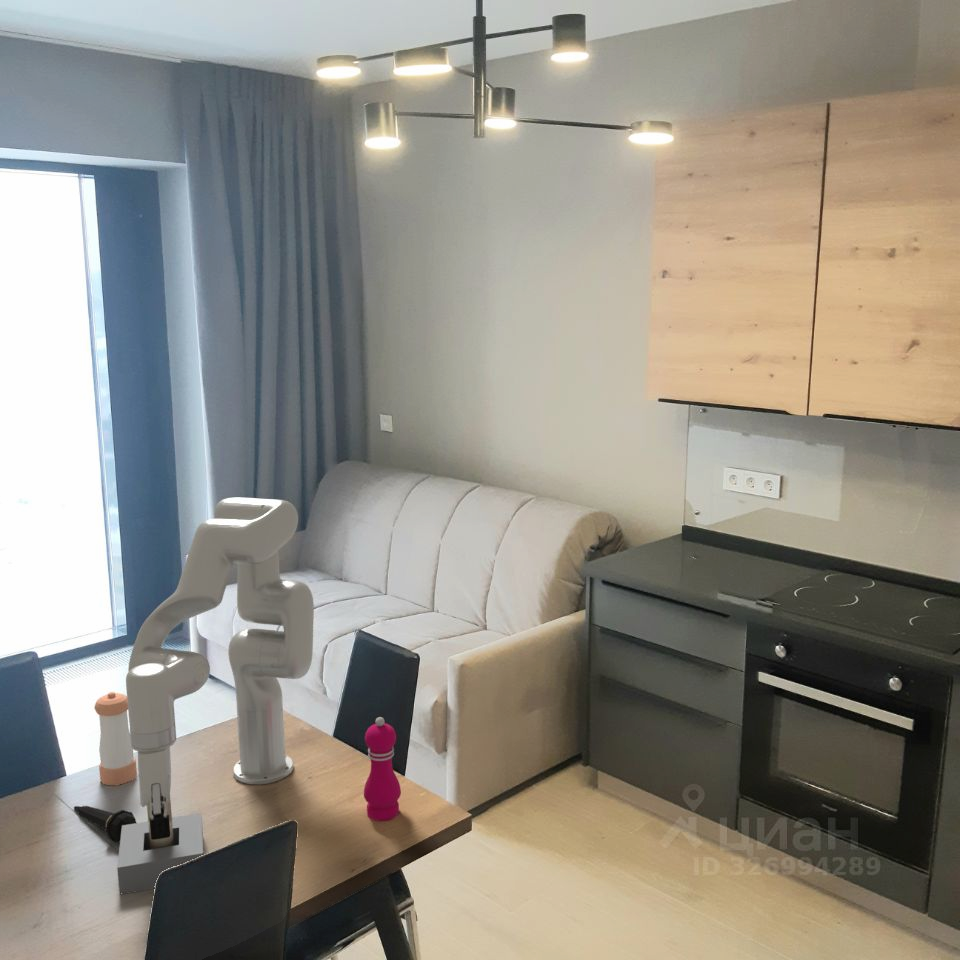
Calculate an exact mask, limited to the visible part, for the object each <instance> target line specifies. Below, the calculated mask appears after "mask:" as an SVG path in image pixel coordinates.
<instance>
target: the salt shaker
mask: <svg viewBox="0 0 960 960" xmlns="http://www.w3.org/2000/svg"><path fill="white" fill-rule="evenodd" d="M94 711H95V712H96V714H97V715H98V717H99V728H100V737H99V752H98V753H99V758H100V759H99V760H100V763H99V765H98V766H99V769H98V770H99V780H101V781H100V783H101V782H102V783H104V784H106V785H105V786H108V785H116V786H121V785H120V784H122V785H124V784H123V783H125V784H128V783H130V782H132V781H133V780H135V779H136V777H137V776H136V775H137V774H138V772H137V770H138V769H137V760H136V757H135V756H134V749H133V748H132V747H131V737H130V726H129V716H128V702H127V694H125V693H119V692H114V691H110V692H108V693H107V694H105V695H102V696H101V697H99V698H98V699H97V700H96V702H95V704H94ZM132 779H133V780H132ZM131 780H132V781H131ZM129 781H130V782H129ZM127 782H128V783H127ZM102 783H101V784H102ZM104 784H103V785H104Z"/></svg>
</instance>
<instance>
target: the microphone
mask: <svg viewBox="0 0 960 960" xmlns="http://www.w3.org/2000/svg"><path fill="white" fill-rule="evenodd" d="M73 809H74V810H75V811H76V812H77V813H78V812H79V813H78V815H79V816H80V817H81V818H83V819H84V820H86V821H88V822H90V823H92V824H93V825H95V826H97V827H99V828H101V829H103V830H105V833H106V835H107V837H108V839H109V840H111V841H113V842H118V843H120V839H121V830H122V825H128V824H135V823H137V821H136V820H137V819H136V817H135V816H134V814H133V812H132V811H128V810H124V809H121V810H118V811H117V812H110V811H108V810H103V809H101V808H95V807H92V806H89V805H82V806H79V805H75V806H74V807H73Z"/></svg>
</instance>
